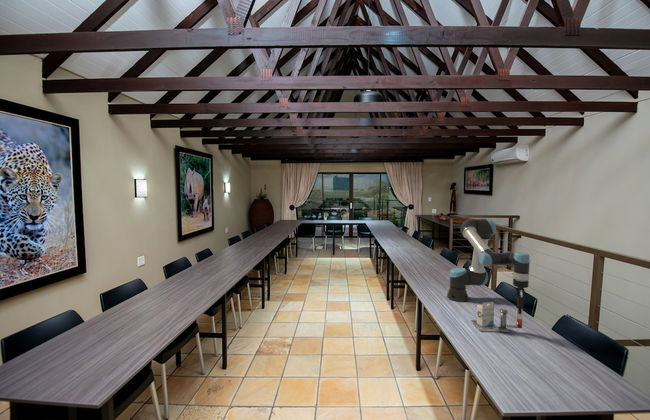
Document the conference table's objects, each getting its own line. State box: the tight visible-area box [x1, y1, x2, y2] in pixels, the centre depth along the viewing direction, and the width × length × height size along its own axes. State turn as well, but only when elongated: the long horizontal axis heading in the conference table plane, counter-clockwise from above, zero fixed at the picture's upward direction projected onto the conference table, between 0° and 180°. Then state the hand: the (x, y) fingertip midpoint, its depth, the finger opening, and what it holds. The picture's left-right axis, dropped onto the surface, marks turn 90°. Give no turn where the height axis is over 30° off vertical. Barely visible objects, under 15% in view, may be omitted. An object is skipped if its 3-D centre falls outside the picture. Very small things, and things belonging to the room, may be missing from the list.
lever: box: [506, 313, 523, 329], centre depth 176 cm, size 3×8×8 cm, turn 83°
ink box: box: [476, 301, 495, 327], centre depth 182 cm, size 9×5×15 cm, turn 102°
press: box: [470, 308, 509, 334], centre depth 181 cm, size 14×16×13 cm
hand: (519, 318), depth 173 cm, fingers closed
